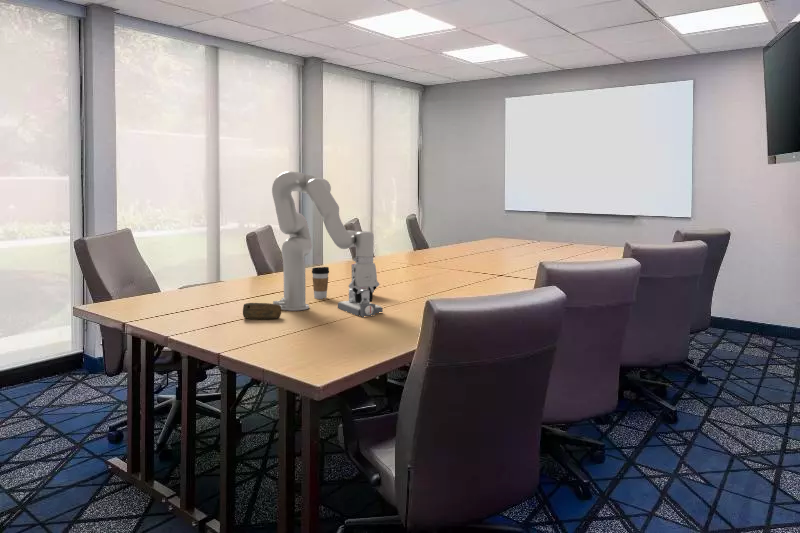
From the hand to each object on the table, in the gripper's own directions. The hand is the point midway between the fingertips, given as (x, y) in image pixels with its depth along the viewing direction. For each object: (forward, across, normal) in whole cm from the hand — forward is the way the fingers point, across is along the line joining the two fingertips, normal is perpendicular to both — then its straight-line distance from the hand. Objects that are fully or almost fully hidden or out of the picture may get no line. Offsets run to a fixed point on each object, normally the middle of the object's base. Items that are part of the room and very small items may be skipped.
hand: (363, 301), depth 256 cm
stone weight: (+5, -43, +8) cm, 44 cm away
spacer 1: (+2, 0, +9) cm, 9 cm away
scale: (+5, 0, +2) cm, 5 cm away
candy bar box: (+5, +19, +36) cm, 41 cm away
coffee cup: (+5, -2, +40) cm, 40 cm away
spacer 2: (+1, 0, 0) cm, 1 cm away
